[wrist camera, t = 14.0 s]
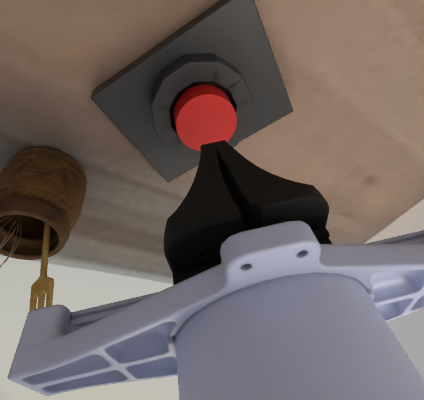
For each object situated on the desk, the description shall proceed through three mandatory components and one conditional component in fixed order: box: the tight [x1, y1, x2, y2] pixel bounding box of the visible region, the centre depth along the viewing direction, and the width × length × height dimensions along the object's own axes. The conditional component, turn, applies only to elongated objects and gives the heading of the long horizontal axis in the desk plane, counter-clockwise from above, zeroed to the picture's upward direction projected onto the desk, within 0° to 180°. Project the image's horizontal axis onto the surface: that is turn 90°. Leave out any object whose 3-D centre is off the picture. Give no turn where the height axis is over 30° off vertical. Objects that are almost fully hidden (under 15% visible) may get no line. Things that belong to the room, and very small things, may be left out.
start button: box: [174, 84, 237, 151], centre depth 19 cm, size 4×4×2 cm
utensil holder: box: [0, 148, 86, 311], centre depth 19 cm, size 6×6×12 cm
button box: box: [91, 0, 293, 182], centre depth 20 cm, size 12×9×3 cm
